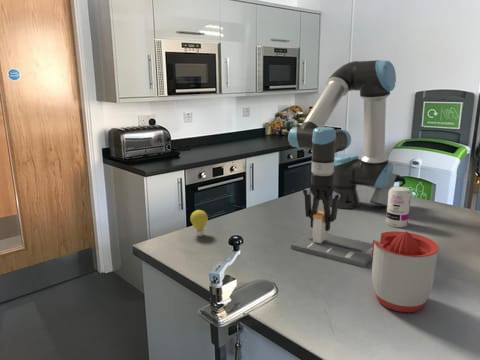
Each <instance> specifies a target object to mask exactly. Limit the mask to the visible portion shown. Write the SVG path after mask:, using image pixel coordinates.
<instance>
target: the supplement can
mask: <svg viewBox="0 0 480 360" xmlns="http://www.w3.org/2000/svg"><path fill="white" fill-rule="evenodd" d="M399 186H400V185H398V186H395V185H394V186H393V187H391V189H390V190H389V193H388V205H387V207H386V218H385V222H386V224H387V225H388V226H390V227H393V228H399V229H400V228H406V227H407V226H408V224H409V216H410V215H409V213H410V206H411V204H410V203H411V195H412V194H411V193H412V192H411V191H410V190H411V189H410V188H408V187H405V186H402V187H399Z"/></svg>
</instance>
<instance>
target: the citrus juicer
mask: <svg viewBox="0 0 480 360" xmlns="http://www.w3.org/2000/svg"><path fill="white" fill-rule="evenodd" d="M372 244H373V247H372V248H371V249H370V250H368V251H367V252H366V253H368V254H372V264H371V265H372V267H371V279H372V286H373V290H374V294H375V297H376V299H377V301H378V302H379V304H381V305H382V306H384V307H385V308H387V309H390V310H393V311H396V312H399V313H407V312H408V313H409V314H410V312H411V313H414V312H418V311H420V310H422V308H424V306H425V305H426V303H427V301H428V299H429V297H430V294H431V290H432V288H433V286H434V280H435V274H436V266H437V256H438V252H439V250H440V248H439V247H440V246H439V245H438V243H437V242H436V241H434V240H432V239H431V238H429V237H427V236H425V235H422V234H421V235H420V234H418V233H413V232H409V231H394V230H393V231H384V232H381V233H380V240H379V241H377V240H375V239H372Z"/></svg>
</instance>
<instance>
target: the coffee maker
mask: <svg viewBox="0 0 480 360" xmlns="http://www.w3.org/2000/svg"><path fill="white" fill-rule="evenodd" d="M400 182H401V183H400ZM395 183H400V185H398V186H399V187H404V186H405V184H406V178H405V177H403V176H401V175H400V174H396V173H393V172H392V176H391V179H390V181H389V183H388V185H387V186H386V187H385V188H374V192H373V193H372V195H371V199H370V201H369V203H372V204H374V205H378V206H382V207H386V208H387V205H388V193H389V190H390V189H391V187H394V186H395Z"/></svg>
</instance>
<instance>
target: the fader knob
mask: <svg viewBox="0 0 480 360" xmlns="http://www.w3.org/2000/svg"><path fill="white" fill-rule="evenodd" d="M313 218H314V224H313V228H312V231H313V242H317V243H322V242H323V241H324V240H322V234H323V222H324V221H325V215H324V211H321V210H319V211H317V213H316V214H314V215H313ZM325 240H326V239H325Z"/></svg>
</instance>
